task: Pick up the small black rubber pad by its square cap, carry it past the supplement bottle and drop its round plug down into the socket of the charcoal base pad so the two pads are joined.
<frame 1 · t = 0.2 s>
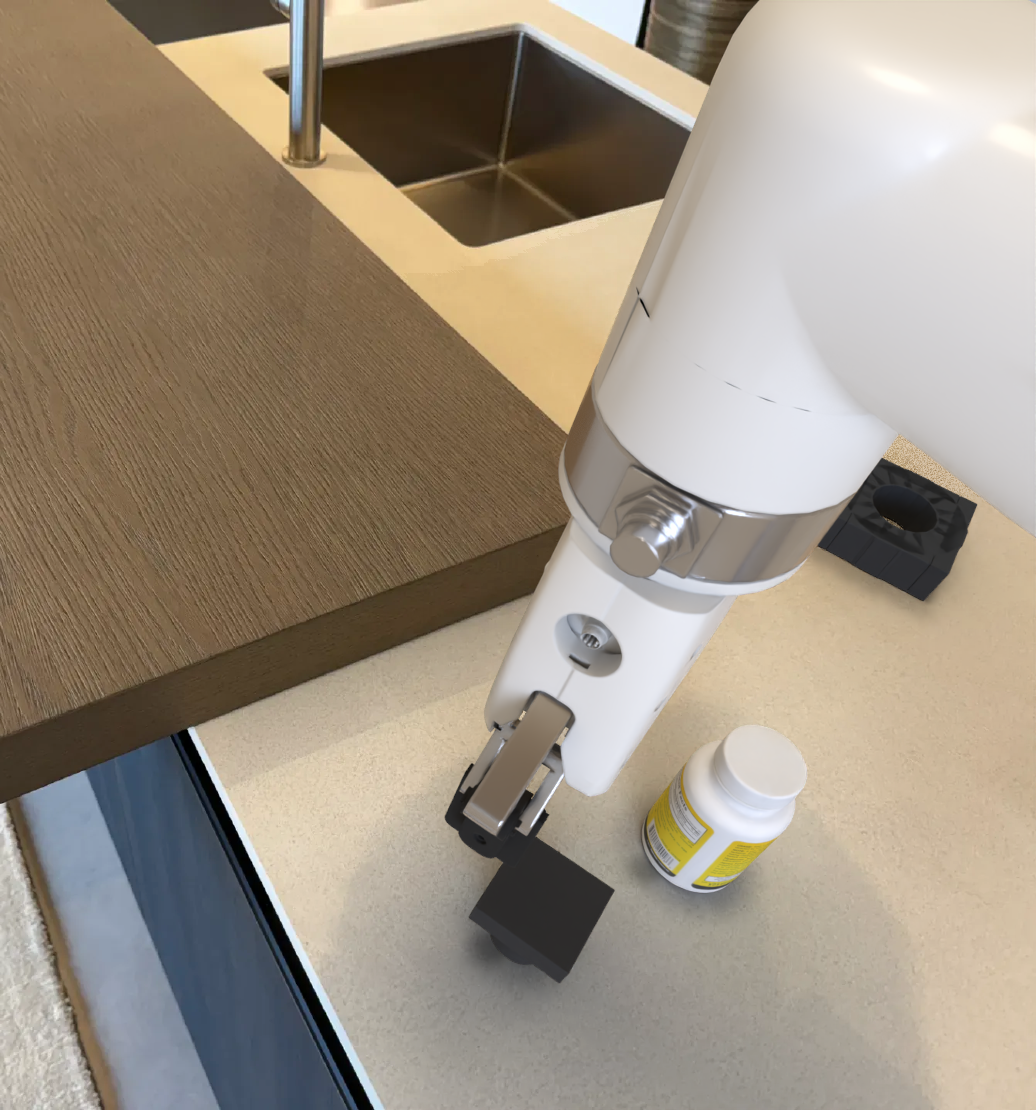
hand: (540, 751, 43), 15 cm above the worktop, tool pointing down, fingers open, 9 cm apart
supplement bottle: (686, 848, 57), on the worktop
base pad: (881, 536, 73), on the worktop
top pad: (521, 931, 53), on the worktop
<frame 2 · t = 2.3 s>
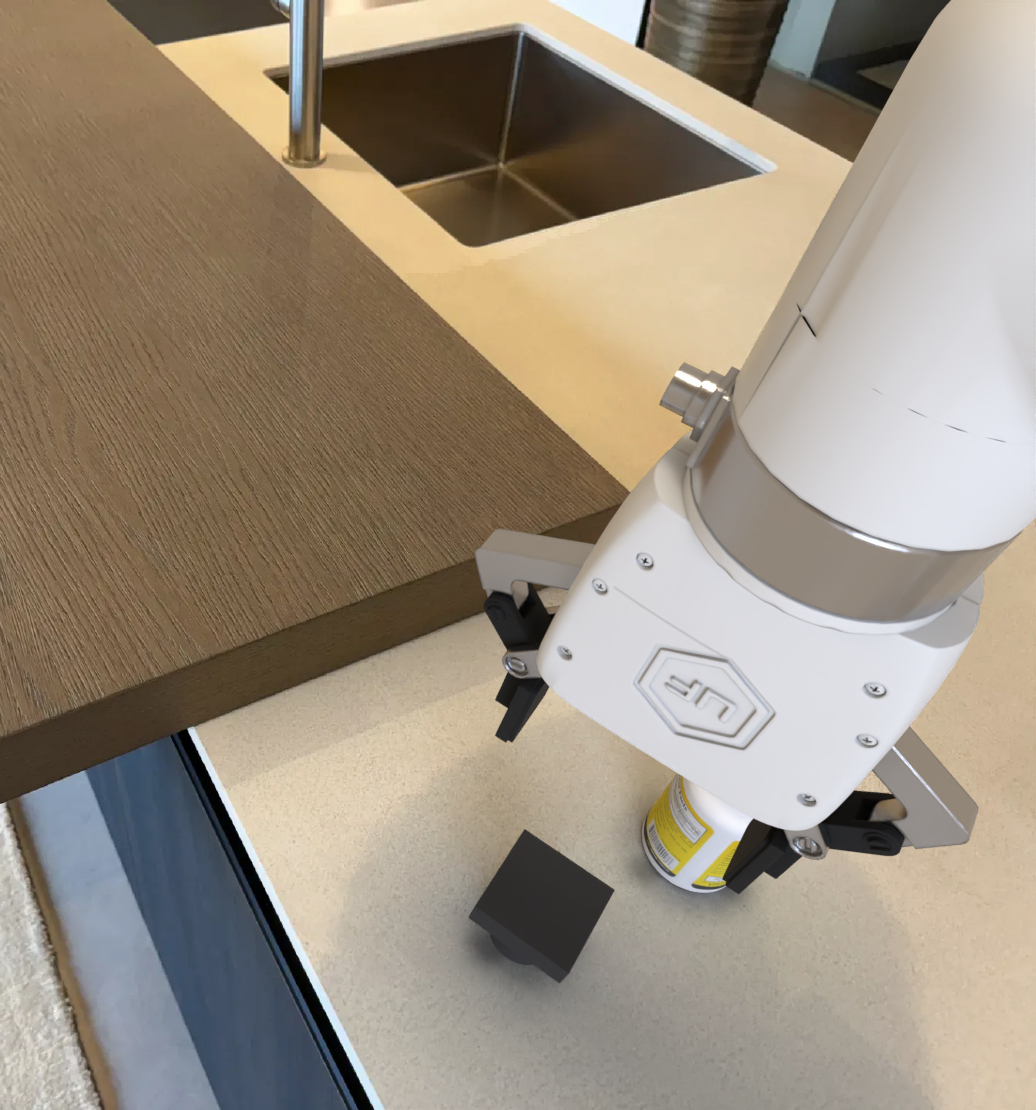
hand: (626, 784, 41), 16 cm above the worktop, tool pointing down, fingers open, 9 cm apart
nothing on the worktop moved.
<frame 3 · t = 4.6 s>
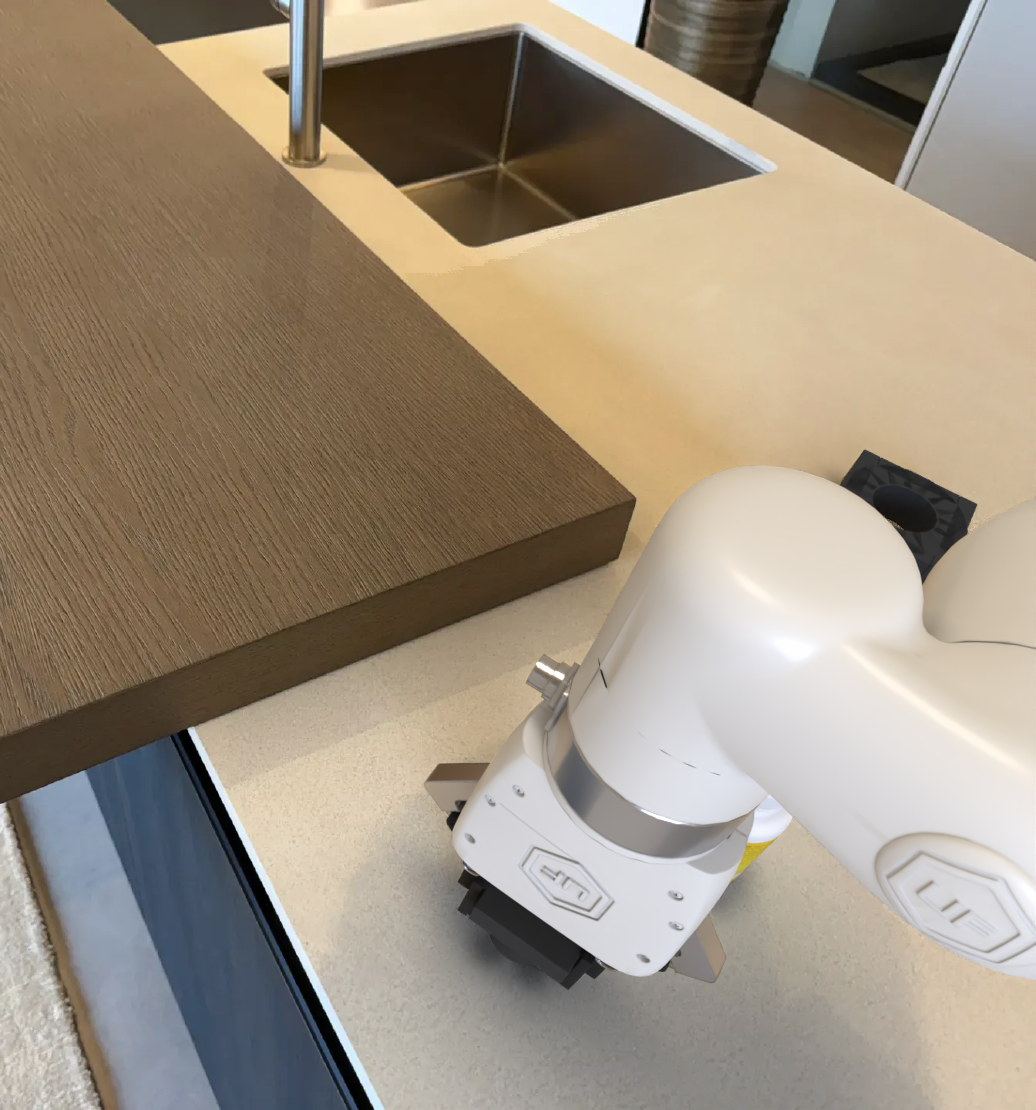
hand: (526, 924, 53), 1 cm above the worktop, tool pointing down, fingers closed on top pad, 5 cm apart
top pad: (521, 931, 53), on the worktop, touching gripper
everything else where it was.
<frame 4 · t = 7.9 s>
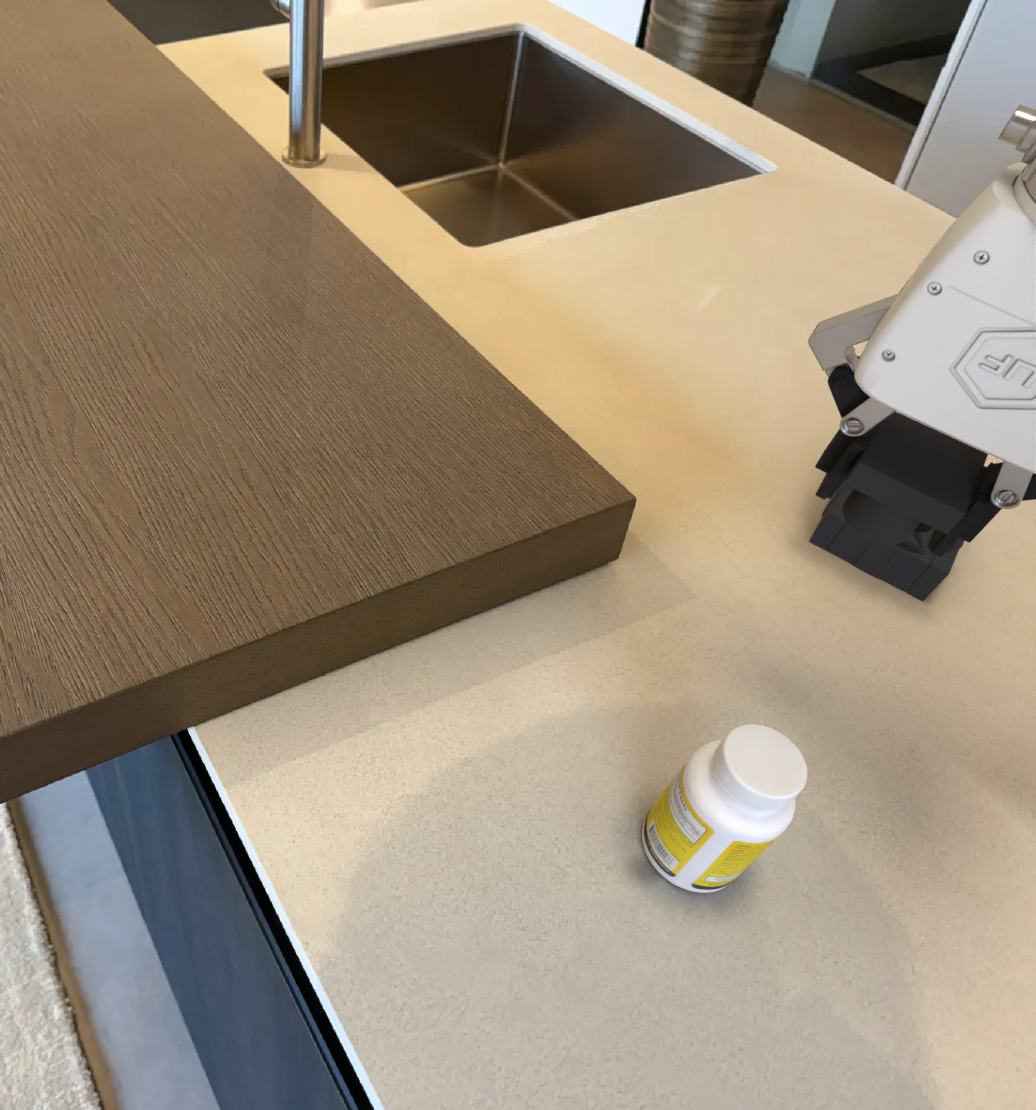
hand: (885, 507, 53), 16 cm above the worktop, tool pointing down, fingers closed on top pad, 5 cm apart
top pad: (875, 519, 53), point 15 cm above the worktop, touching gripper
everything else where it was.
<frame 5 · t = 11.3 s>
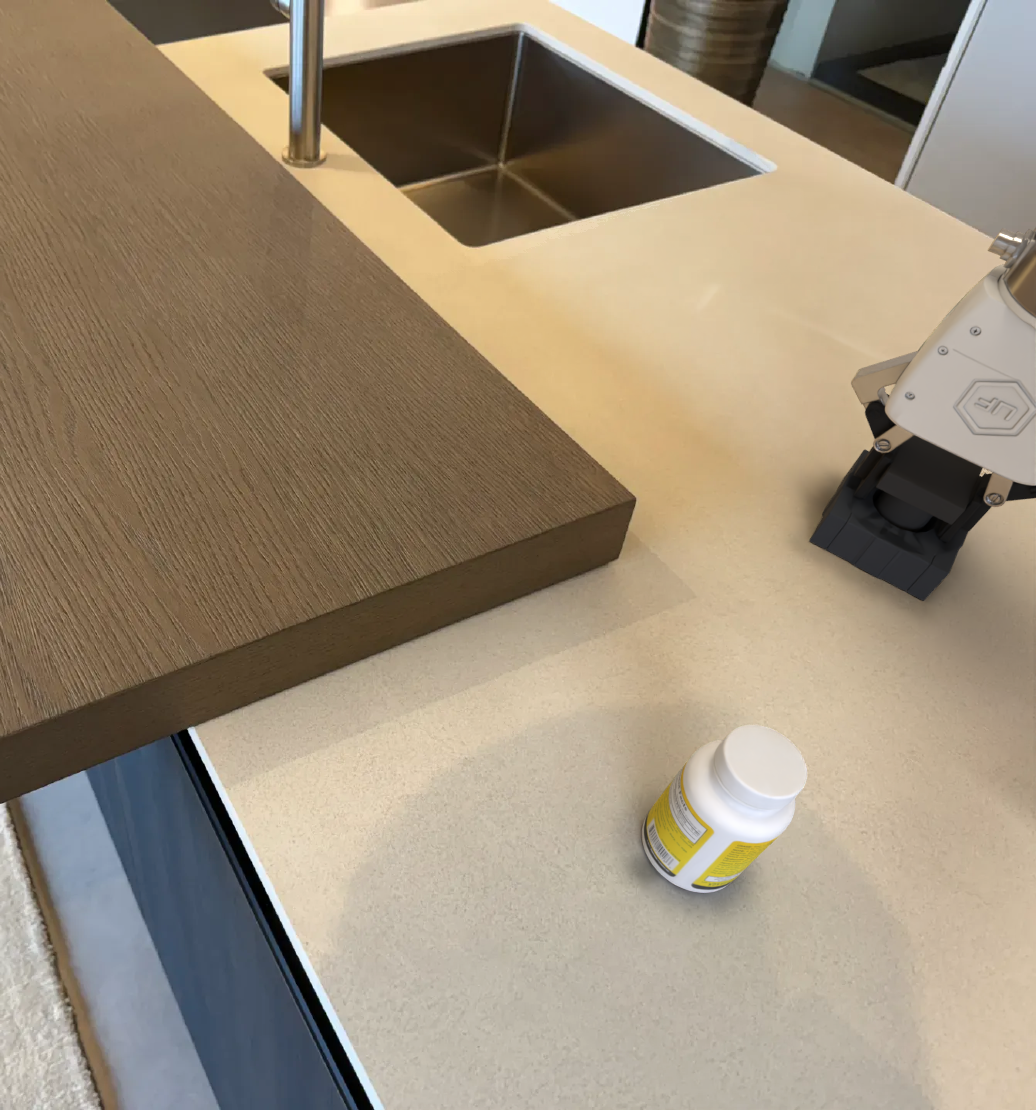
hand: (906, 505, 71), 3 cm above the worktop, tool pointing down, fingers closed on top pad, 5 cm apart
top pad: (898, 514, 72), point 2 cm above the worktop, touching gripper
everything else where it was.
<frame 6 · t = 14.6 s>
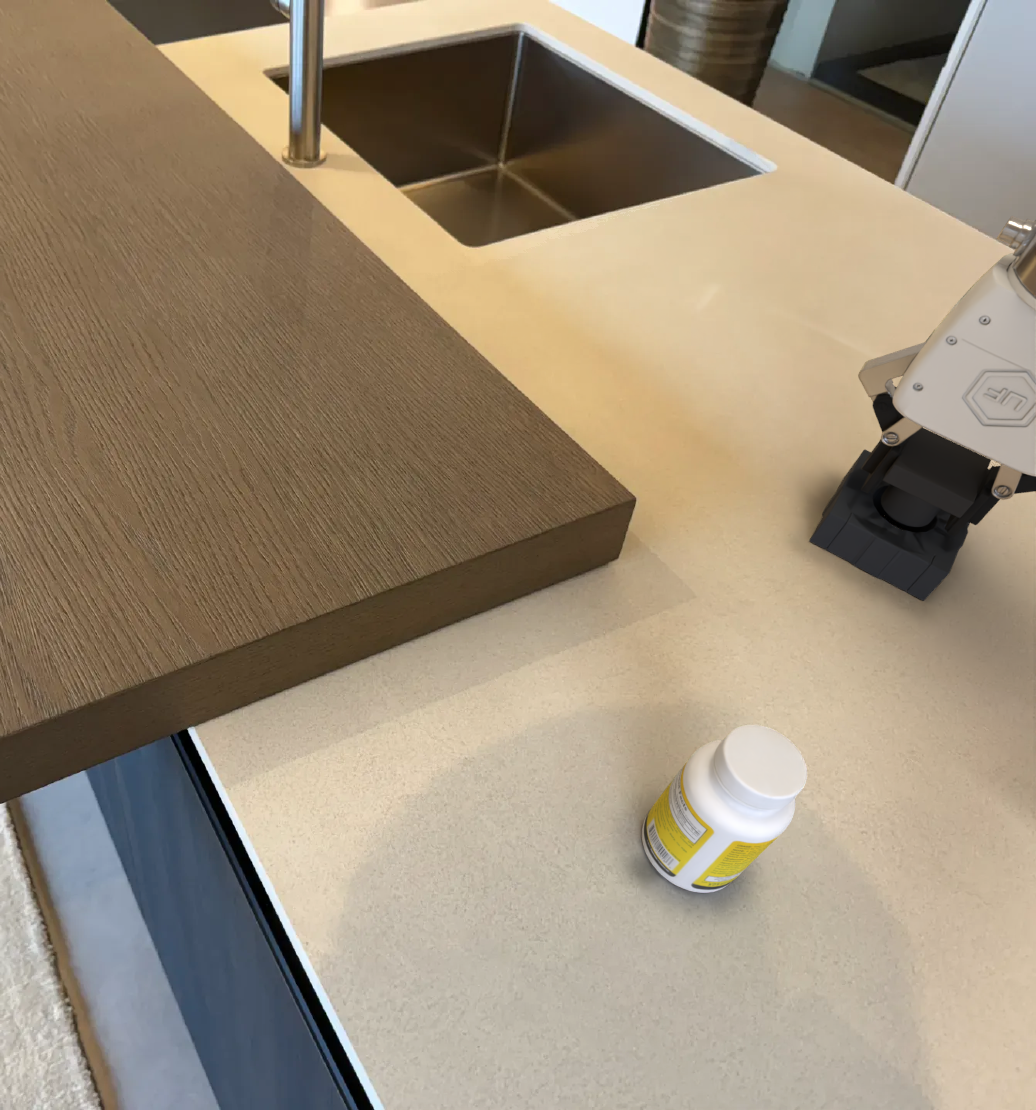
hand: (913, 499, 70), 4 cm above the worktop, tool pointing down, fingers closed on top pad, 4 cm apart
top pad: (905, 508, 71), point 3 cm above the worktop, touching gripper
everything else where it was.
when the fingers open (4 cm above the worktop, at t = 17.3 s): top pad drops 3 cm, resting on base pad.
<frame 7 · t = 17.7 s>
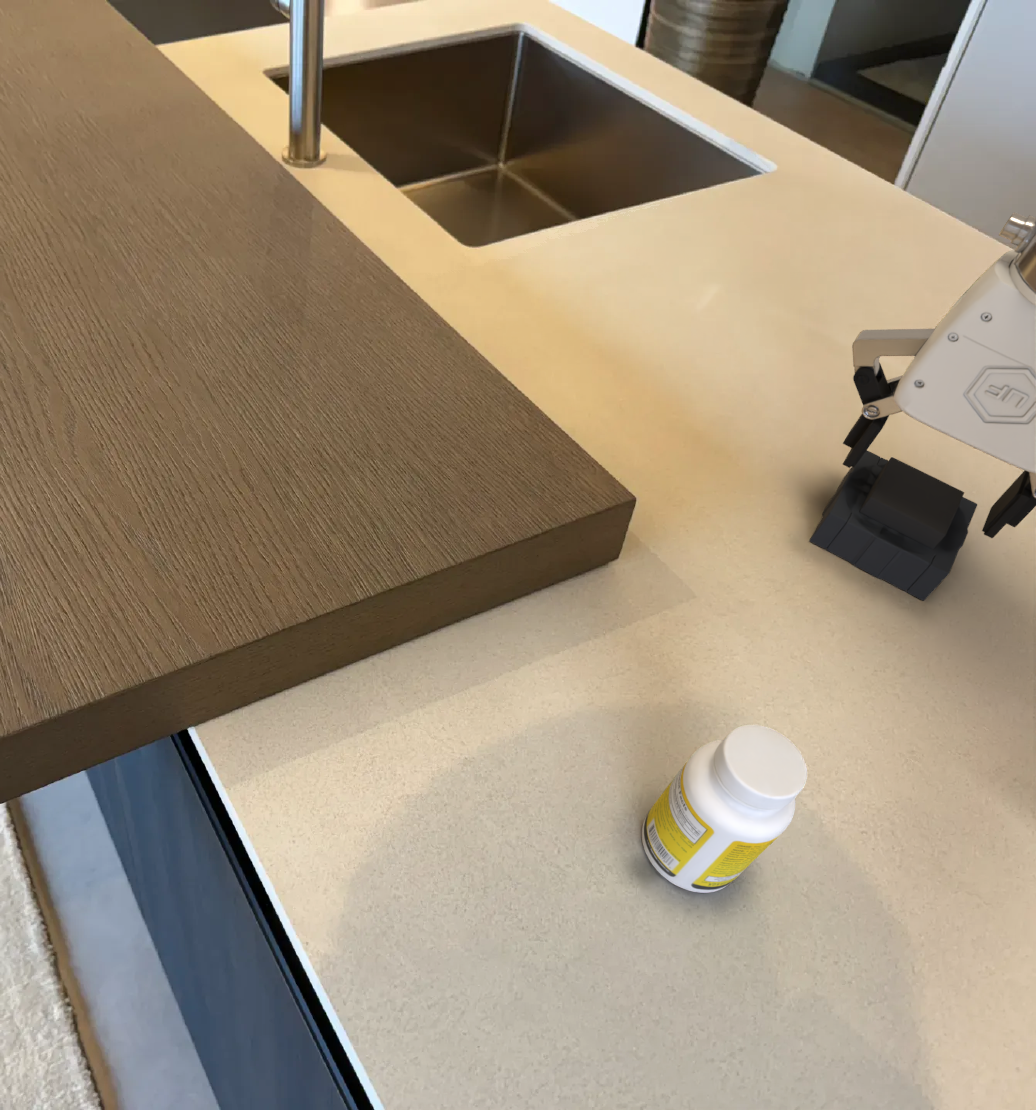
hand: (920, 488, 69), 5 cm above the worktop, tool pointing down, fingers open, 8 cm apart
top pad: (882, 537, 73), resting on base pad
everything else where it was.
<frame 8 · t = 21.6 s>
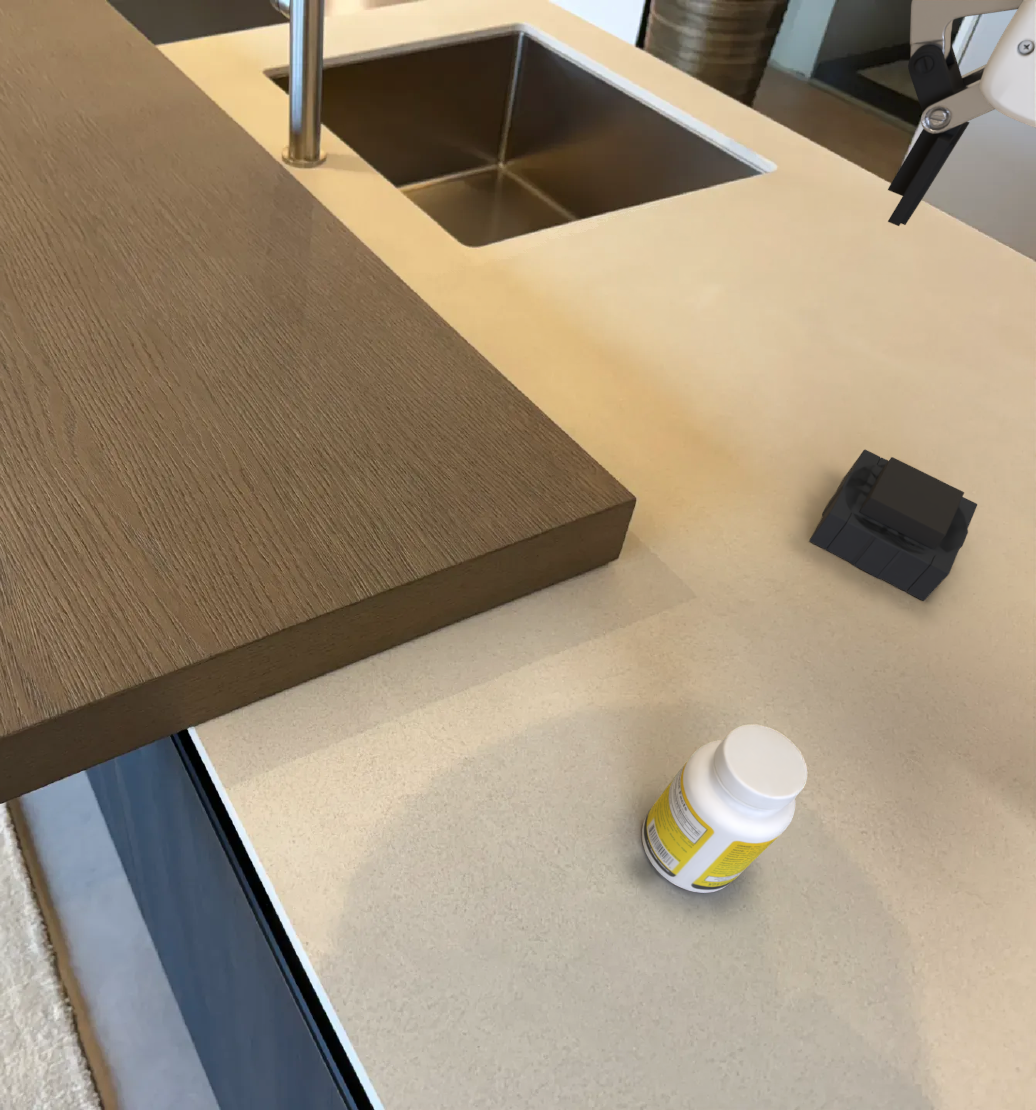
hand: (1014, 257, 45), 28 cm above the worktop, tool pointing down, fingers open, 9 cm apart
nothing on the worktop moved.
at the end: top pad 0.1 cm off-centre in the base pad, point 0.0 cm above the base pad's base; top pad tilted 0°; supplement bottle moved 0.2 cm from its start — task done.
